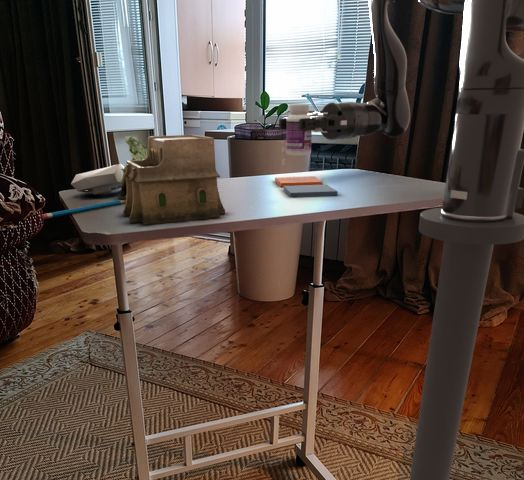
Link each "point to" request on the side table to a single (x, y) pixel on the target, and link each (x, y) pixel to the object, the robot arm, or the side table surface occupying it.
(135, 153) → the terrain
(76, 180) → the turret
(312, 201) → the side table surface
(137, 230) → the side table surface
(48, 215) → the pencil
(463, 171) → the robot arm
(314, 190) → the slate pad
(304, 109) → the pill bottle
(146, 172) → the miniature house
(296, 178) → the terracotta pad
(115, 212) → the side table surface
